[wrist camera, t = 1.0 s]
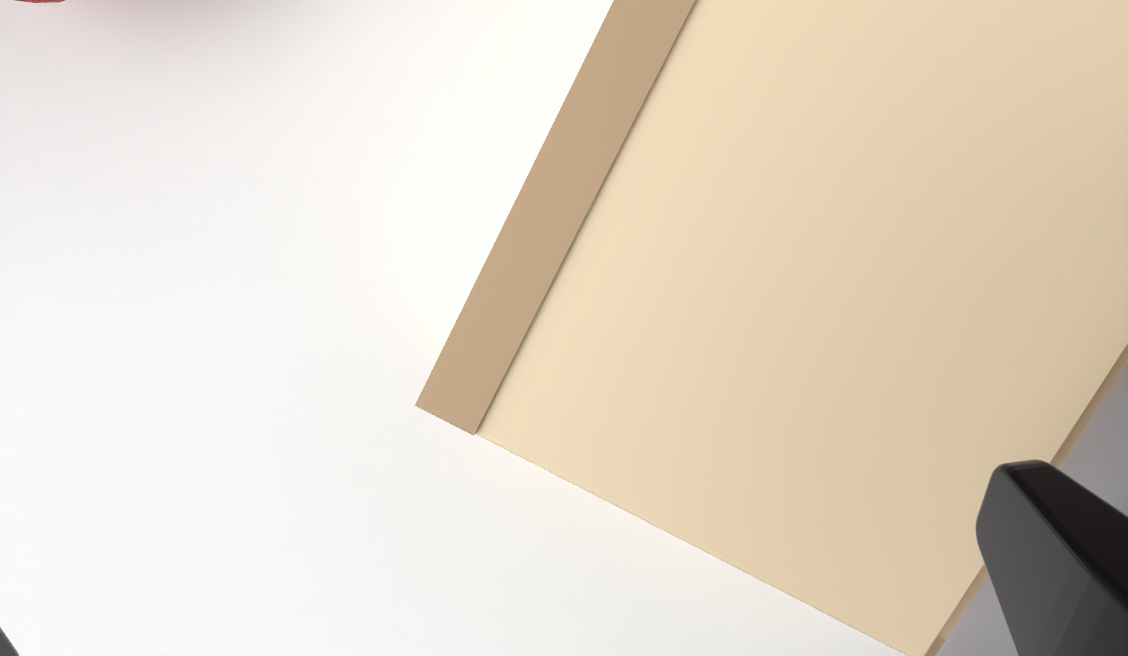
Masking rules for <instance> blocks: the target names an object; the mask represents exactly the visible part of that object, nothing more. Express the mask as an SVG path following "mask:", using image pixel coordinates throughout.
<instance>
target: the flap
mask: <svg viewBox="0 0 1128 656" xmlns="http://www.w3.org/2000/svg"><path fill="white" fill-rule="evenodd" d="M1127 344H1128V0H614V1H613V3H612V5H611V7H610V9H609V11H608V13H607V15H606V18H605V20H604V22H603V24H602V26H601V28H600V30H599V32H598V34H597V36H596V38H595V40H594V42H593V44H592V46H591V48H590V50H589V52H588V54H587V56H586V58H585V60H584V62H583V64H582V66H581V68H580V70H579V73H578V75H577V77H576V79H575V81H574V83H573V85H572V87H571V89H570V91H569V93H568V95H567V97H566V99H565V101H564V103H563V105H562V107H561V109H560V111H559V113H558V115H557V117H556V119H555V121H554V123H553V125H552V128H551V130H550V132H549V134H548V136H547V138H546V140H545V142H544V144H543V146H542V148H541V150H540V152H539V154H538V156H537V158H536V160H535V162H534V164H533V166H532V168H531V170H530V172H529V174H528V176H527V178H526V180H525V182H524V185H523V187H522V189H521V191H520V193H519V195H518V197H517V199H516V201H515V203H514V205H513V207H512V209H511V211H510V213H509V215H508V217H507V219H506V221H505V223H504V225H503V227H502V229H501V231H500V233H499V235H498V237H497V240H496V242H495V244H494V246H493V248H492V250H491V252H490V254H489V256H488V258H487V260H486V262H485V264H484V266H483V268H482V270H481V272H480V274H479V276H478V278H477V280H476V282H475V284H474V286H473V288H472V290H471V292H470V294H469V297H468V299H467V301H466V303H465V305H464V307H463V309H462V311H461V313H460V315H459V317H458V319H457V321H456V323H455V325H454V327H453V329H452V331H451V333H450V335H449V337H448V339H447V341H446V343H445V345H444V347H443V349H442V352H441V354H440V356H439V358H438V360H437V362H436V364H435V366H434V368H433V370H432V372H431V374H430V376H429V378H428V380H427V382H426V384H425V386H424V388H423V390H422V392H421V394H420V396H419V398H418V400H417V402H416V404H415V406H417V407H419V408H421V409H423V410H425V411H427V412H429V413H431V414H433V415H435V416H437V417H439V418H441V419H443V420H445V421H446V422H448V423H450V424H452V425H454V426H456V427H458V428H460V429H462V430H464V431H466V432H468V433H470V434H472V435H474V434H477V435H479V436H481V437H482V438H484V439H486V440H488V441H490V442H492V443H494V444H496V445H498V446H500V447H502V448H504V449H506V450H508V451H510V452H512V453H514V454H516V455H518V456H519V457H521V458H523V459H525V460H527V461H529V462H531V463H533V464H535V465H537V466H539V467H541V468H543V469H545V470H547V471H549V472H551V473H553V474H555V475H556V476H558V477H560V478H562V479H564V480H566V481H568V482H570V483H572V484H574V485H576V486H578V487H580V488H582V489H584V490H586V491H588V492H590V493H592V494H593V495H595V496H597V497H599V498H601V499H603V500H605V501H607V502H609V503H611V504H613V505H615V506H617V507H619V508H621V509H623V510H625V511H627V512H629V513H630V514H632V515H634V516H636V517H638V518H640V519H642V520H644V521H646V522H648V523H650V524H652V525H654V526H656V527H658V528H660V529H662V530H664V531H666V532H667V533H669V534H671V535H673V536H675V537H677V538H679V539H681V540H683V541H685V542H687V543H689V544H691V545H693V546H695V547H697V548H699V549H701V550H703V551H704V552H706V553H708V554H710V555H712V556H714V557H716V558H718V559H720V560H722V561H724V562H726V563H728V564H730V565H732V566H734V567H736V568H738V569H740V570H741V571H743V572H745V573H747V574H749V575H751V576H753V577H755V578H757V579H759V580H761V581H763V582H765V583H767V584H769V585H771V586H773V587H775V588H777V589H778V590H780V591H782V592H784V593H786V594H788V595H790V596H792V597H794V598H796V599H798V600H800V601H802V602H804V603H806V604H808V605H810V606H812V607H814V608H815V609H817V610H819V611H821V612H823V613H825V614H827V615H829V616H831V617H833V618H835V619H837V620H839V621H841V622H843V623H845V624H847V625H849V626H851V627H852V628H854V629H856V630H858V631H860V632H862V633H864V634H866V635H868V636H870V637H872V638H874V639H876V640H878V641H880V642H882V643H884V644H886V645H888V646H889V647H891V648H893V649H895V650H897V651H899V652H901V653H903V654H905V655H907V656H924V655H925V653H926V652H927V650H928V649H929V647H930V646H931V644H932V643H933V641H934V639H935V638H936V636H937V635H938V633H939V632H940V630H941V629H942V627H943V626H944V624H945V623H946V621H947V620H948V618H949V616H950V615H951V613H952V612H953V610H954V609H955V607H956V606H957V604H958V603H959V601H960V600H961V598H962V597H963V595H964V593H965V592H966V590H967V589H968V587H969V586H970V584H971V583H972V581H973V580H974V578H975V577H976V575H977V574H978V572H979V571H980V569H981V567H982V566H983V564H984V560H983V558H982V555H981V552H980V549H979V546H978V543H977V538H976V520H977V516H978V513H979V510H980V507H981V504H982V501H983V498H984V495H985V492H986V489H987V486H988V483H989V480H990V477H991V474H992V472H993V470H994V469H995V468H996V467H998V466H999V465H1001V464H1004V463H1010V462H1018V461H1025V460H1042V461H1045V462H1047V463H1050V462H1051V460H1052V459H1053V457H1054V456H1055V454H1056V452H1057V451H1058V449H1059V448H1060V446H1061V445H1062V443H1063V442H1064V440H1065V439H1066V437H1067V436H1068V434H1069V433H1070V431H1071V429H1072V428H1073V426H1074V425H1075V423H1076V422H1077V420H1078V419H1079V417H1080V416H1081V414H1082V413H1083V411H1084V410H1085V408H1086V406H1087V405H1088V403H1089V402H1090V400H1091V399H1092V397H1093V396H1094V394H1095V393H1096V391H1097V390H1098V388H1099V387H1100V385H1101V383H1102V382H1103V380H1104V379H1105V377H1106V376H1107V374H1108V373H1109V371H1110V370H1111V368H1112V367H1113V365H1114V364H1115V362H1116V361H1117V359H1118V357H1119V356H1120V354H1121V353H1122V351H1123V350H1124V348H1125V347H1126V345H1127ZM1058 469H1059V470H1060V471H1062V472H1063V473H1065V474H1066V475H1067V476H1069V477H1070V478H1072V479H1073V480H1075V481H1076V482H1078V483H1079V484H1081V485H1082V486H1084V487H1085V488H1087V489H1088V490H1090V491H1091V492H1093V493H1094V494H1095V495H1097V496H1098V497H1100V498H1101V499H1103V500H1104V501H1106V502H1107V503H1109V504H1110V505H1112V506H1113V507H1115V508H1116V509H1118V510H1119V511H1121V512H1122V513H1123V514H1125V515H1126V516H1128V363H1127V365H1126V366H1125V368H1124V369H1123V371H1122V372H1121V374H1120V375H1119V377H1118V378H1117V380H1116V382H1115V383H1114V385H1113V386H1112V388H1111V389H1110V391H1109V392H1108V394H1107V395H1106V397H1105V398H1104V400H1103V401H1102V403H1101V404H1100V406H1099V407H1098V409H1097V411H1096V412H1095V414H1094V415H1093V417H1092V418H1091V420H1090V421H1089V423H1088V424H1087V426H1086V427H1085V429H1084V430H1083V432H1082V433H1081V435H1080V436H1079V438H1078V439H1077V441H1076V443H1075V444H1074V446H1073V447H1072V449H1071V450H1070V452H1069V453H1068V455H1067V456H1066V458H1065V459H1064V461H1063V462H1062V464H1061V465H1060V467H1059V468H1058ZM936 656H1018V654H1017V652H1016V649H1015V646H1014V643H1013V641H1012V638H1011V635H1010V632H1009V629H1008V627H1007V624H1006V621H1005V618H1004V616H1003V613H1002V610H1001V607H1000V605H999V602H998V599H997V596H996V594H995V591H994V588H993V585H992V583H991V580H990V577H989V575H988V577H987V578H986V580H985V581H984V583H983V584H982V586H981V587H980V589H979V591H978V592H977V594H976V595H975V597H974V598H973V600H972V601H971V603H970V604H969V606H968V607H967V609H966V610H965V612H964V613H963V615H962V616H961V618H960V620H959V621H958V623H957V624H956V626H955V627H954V629H953V630H952V632H951V633H950V635H949V636H948V638H947V639H946V641H945V642H944V644H943V645H942V647H941V649H940V650H939V652H938V653H937V655H936Z"/></svg>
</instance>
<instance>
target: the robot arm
mask: <svg viewBox="0 0 1128 656" xmlns="http://www.w3.org/2000/svg"><path fill="white" fill-rule="evenodd" d="M976 538H977V543H978V546H979V549H980V552H981V555H982V558H983V560H984V563H985V566H986V569H987V571H988V574H989V577H990V580H991V583H992V585H993V588H994V591H995V594H996V596H997V599H998V602H999V605H1000V607H1001V610H1002V613H1003V616H1004V618H1005V621H1006V624H1007V627H1008V629H1009V632H1010V635H1011V638H1012V641H1013V643H1014V646H1015V649H1016V652H1017V654H1018V656H1128V516H1126V515H1125V514H1123V513H1122V512H1121V511H1119V510H1118V509H1116V508H1115V507H1113V506H1112V505H1110V504H1109V503H1107V502H1106V501H1104V500H1103V499H1101V498H1100V497H1098V496H1097V495H1095V494H1094V493H1093V492H1091V491H1090V490H1088V489H1087V488H1085V487H1084V486H1082V485H1081V484H1079V483H1078V482H1076V481H1075V480H1073V479H1072V478H1070V477H1069V476H1067V475H1066V474H1065V473H1063V472H1062V471H1060V470H1059V469H1057V468H1056V467H1054V466H1053V465H1051V464H1049V463H1047V462H1045V461H1042V460H1025V461H1018V462H1010V463H1004V464H1001V465H999V466H998V467H996V468H995V469H994V470H993V472H992V474H991V477H990V480H989V483H988V486H987V489H986V492H985V495H984V498H983V501H982V504H981V507H980V510H979V513H978V516H977V520H976ZM0 656H19V654H18V652H17V651H16V649H15V648H14V646H13V645H12V643H11V642H10V641H9V639H8V638H7V636H6V635H5V633H4V632H3V631H2V629H1V628H0Z"/></svg>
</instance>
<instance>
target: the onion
mask: <svg viewBox="0 0 1128 656" xmlns="http://www.w3.org/2000/svg"><path fill="white" fill-rule="evenodd" d="M17 1H25V2H33V3H44V2H62V1H64V0H17Z"/></svg>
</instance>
